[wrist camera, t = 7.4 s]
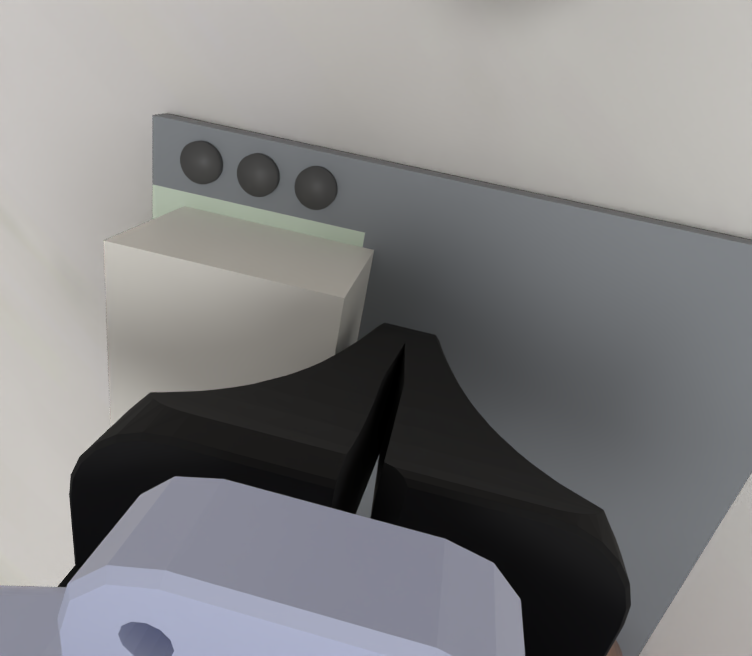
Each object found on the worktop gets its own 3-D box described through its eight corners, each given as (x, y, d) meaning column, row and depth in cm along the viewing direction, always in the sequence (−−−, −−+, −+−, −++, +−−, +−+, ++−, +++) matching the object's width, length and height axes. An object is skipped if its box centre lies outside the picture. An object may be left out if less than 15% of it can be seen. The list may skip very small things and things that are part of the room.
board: (856, 262, 11) (882, 275, 10) (531, 806, 21) (533, 832, 20) (166, 113, 12) (147, 115, 12) (160, 693, 22) (149, 714, 21)
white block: (374, 249, 12) (344, 298, 10) (343, 414, 14) (311, 492, 11) (183, 206, 13) (103, 240, 10) (179, 372, 15) (110, 438, 12)
